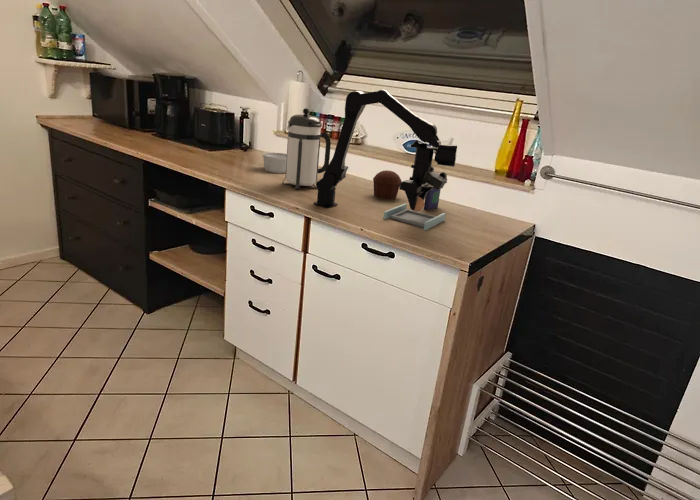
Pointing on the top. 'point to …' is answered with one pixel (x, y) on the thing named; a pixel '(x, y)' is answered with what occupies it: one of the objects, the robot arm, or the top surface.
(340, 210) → the top surface
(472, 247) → the top surface
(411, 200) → the robot arm
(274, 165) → the ramekin
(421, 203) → the ball
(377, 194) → the muffin
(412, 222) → the dish
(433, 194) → the flask
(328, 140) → the coffee press
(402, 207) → the acrylic walls
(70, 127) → the top surface
